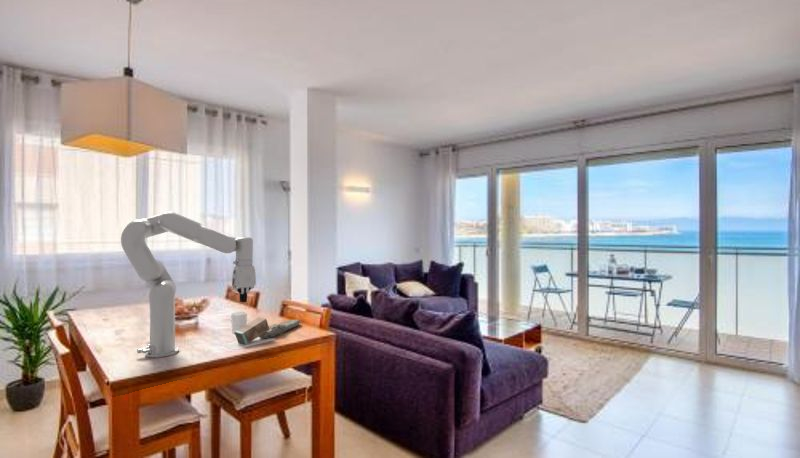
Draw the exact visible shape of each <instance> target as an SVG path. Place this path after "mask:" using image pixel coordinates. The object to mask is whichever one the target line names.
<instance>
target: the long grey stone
mask: <svg viewBox="0 0 800 458" xmlns="http://www.w3.org/2000/svg"><path fill="white" fill-rule="evenodd" d="M300 324H301V320H300V319H290V320H289V319H287V320H286V321H283V322H280V323H274V324H273V325H268V326H269V329H270V330H268V331H266V332H265V333H263V334H262V335H260V336H259V338H269V337H271V338H274V337H276V336H281V335H282V334H283V333H285V332H287V331H288V330H292V329H293V328H296V327H298V326H299V325H300Z"/></svg>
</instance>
